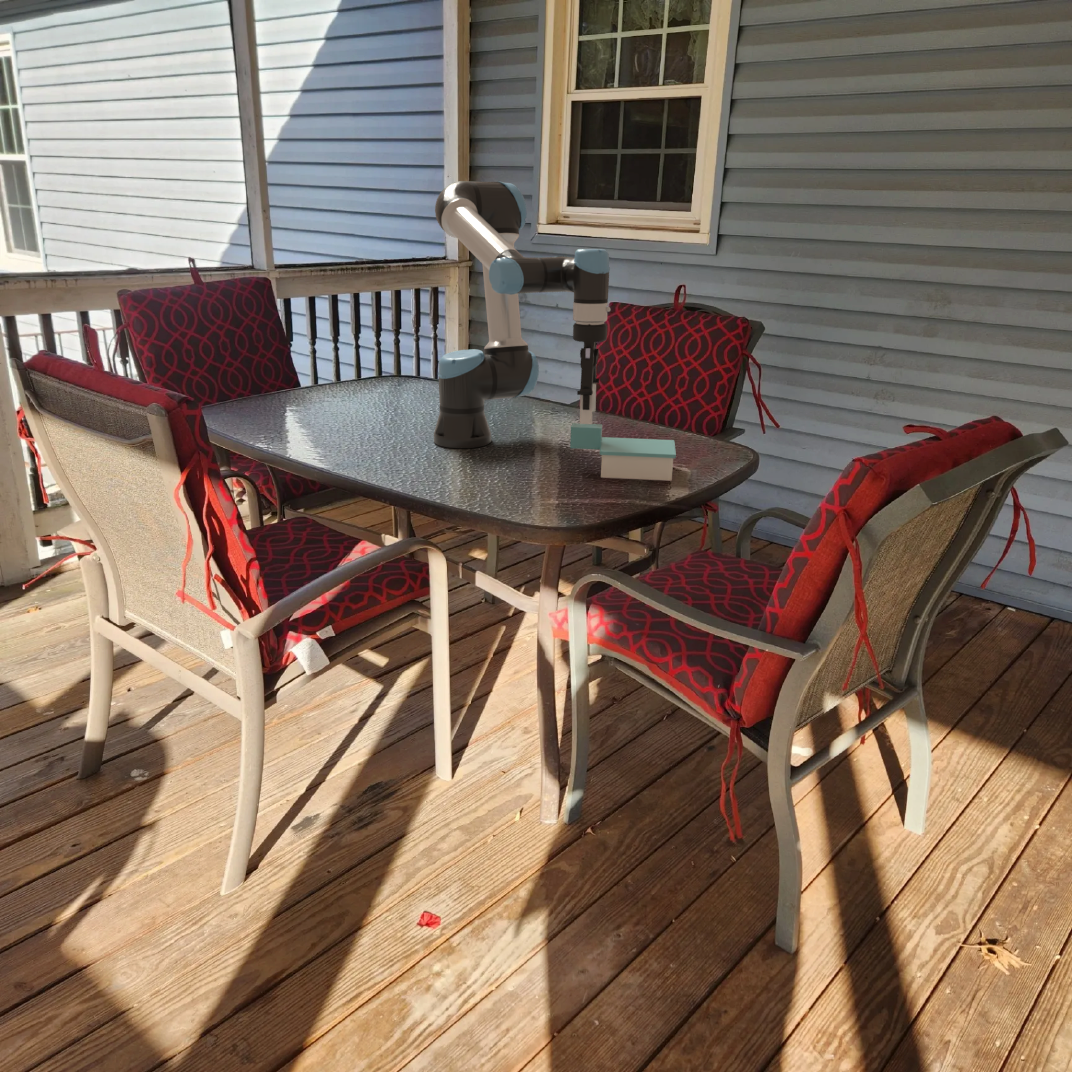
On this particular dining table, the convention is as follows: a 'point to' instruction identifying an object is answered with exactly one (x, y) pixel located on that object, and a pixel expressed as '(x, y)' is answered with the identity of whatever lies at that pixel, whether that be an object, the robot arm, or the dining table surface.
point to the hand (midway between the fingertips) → (587, 417)
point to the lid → (618, 443)
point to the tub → (636, 467)
